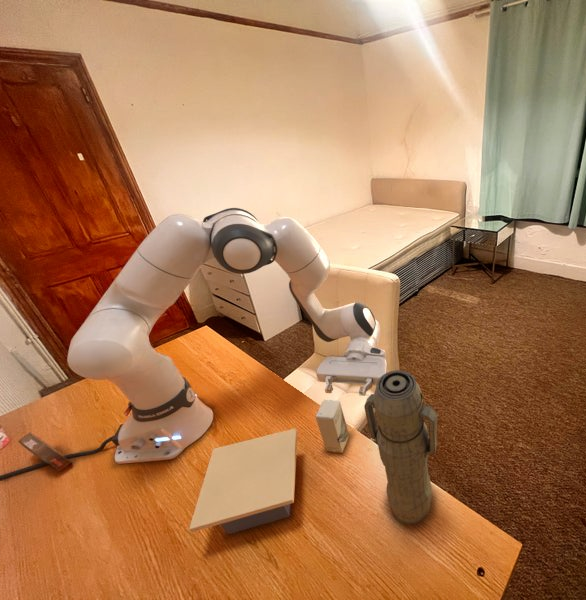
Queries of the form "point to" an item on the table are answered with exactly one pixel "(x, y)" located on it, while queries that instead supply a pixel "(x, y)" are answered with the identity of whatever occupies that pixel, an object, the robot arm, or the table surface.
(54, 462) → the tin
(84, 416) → the table surface
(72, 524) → the table surface
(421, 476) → the thermos
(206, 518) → the stand
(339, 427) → the box
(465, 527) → the table surface
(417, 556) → the table surface
